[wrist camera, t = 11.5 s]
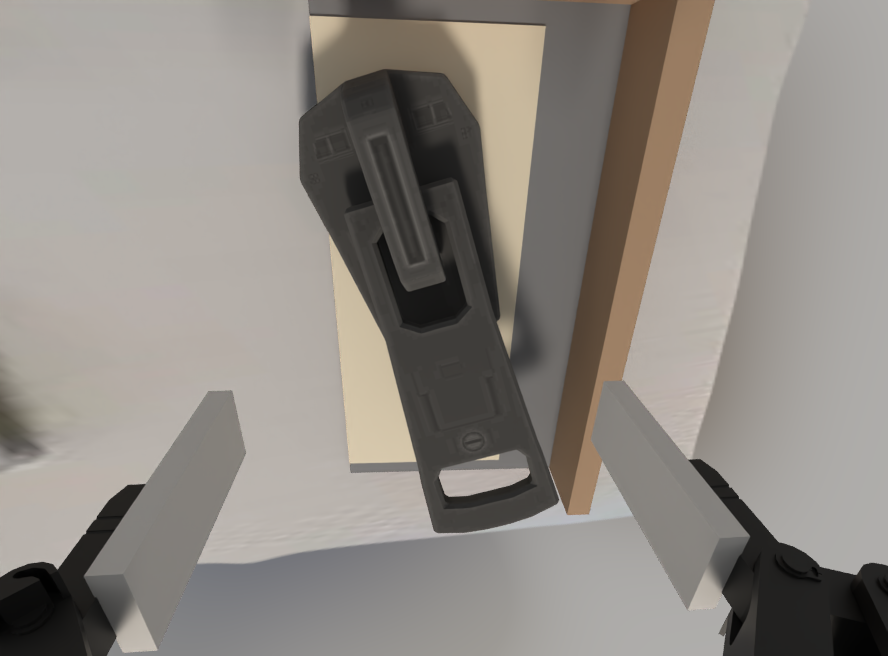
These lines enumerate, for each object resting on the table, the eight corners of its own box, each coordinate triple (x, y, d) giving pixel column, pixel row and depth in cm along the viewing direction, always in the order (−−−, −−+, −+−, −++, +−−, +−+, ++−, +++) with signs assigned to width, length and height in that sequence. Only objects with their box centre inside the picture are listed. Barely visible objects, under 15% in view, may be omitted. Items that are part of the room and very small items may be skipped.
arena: (351, 466, 33) (342, 522, 29) (306, -50, 20) (275, -95, 15) (565, 461, 35) (588, 514, 30) (663, -31, 21) (731, -68, 16)
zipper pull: (428, 546, 27) (233, 105, 16) (425, 467, 33) (281, 105, 22) (572, 511, 26) (475, 28, 15) (543, 437, 32) (457, 49, 21)
